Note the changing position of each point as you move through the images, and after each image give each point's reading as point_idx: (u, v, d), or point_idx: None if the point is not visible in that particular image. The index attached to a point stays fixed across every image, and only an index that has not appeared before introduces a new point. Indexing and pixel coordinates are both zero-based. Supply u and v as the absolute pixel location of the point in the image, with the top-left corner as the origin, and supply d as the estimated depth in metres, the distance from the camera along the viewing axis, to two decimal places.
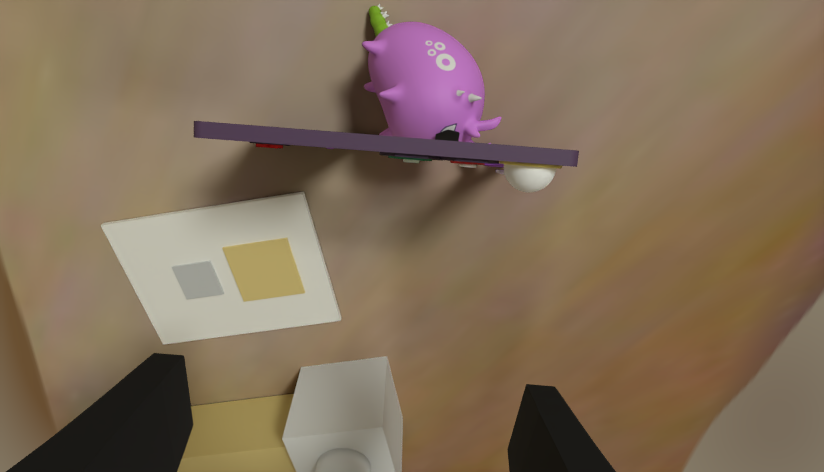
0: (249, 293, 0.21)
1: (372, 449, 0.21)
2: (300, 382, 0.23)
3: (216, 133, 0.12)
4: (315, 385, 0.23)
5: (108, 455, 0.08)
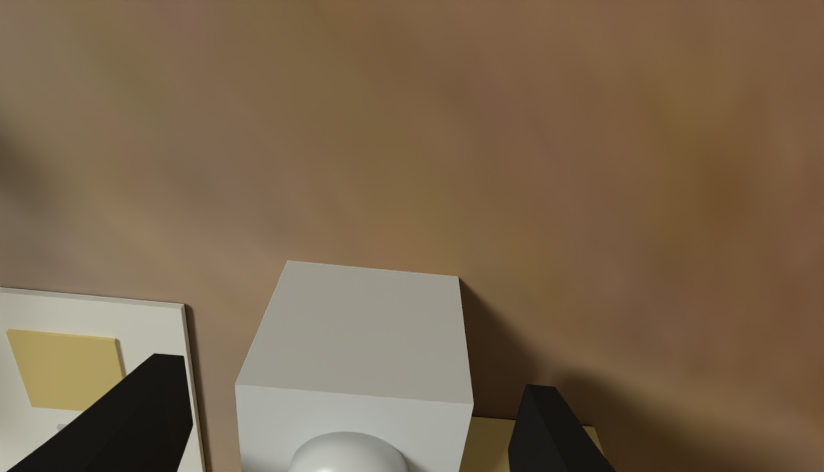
0: None
1: (307, 418, 0.09)
2: None
3: None
4: None
5: (108, 455, 0.08)
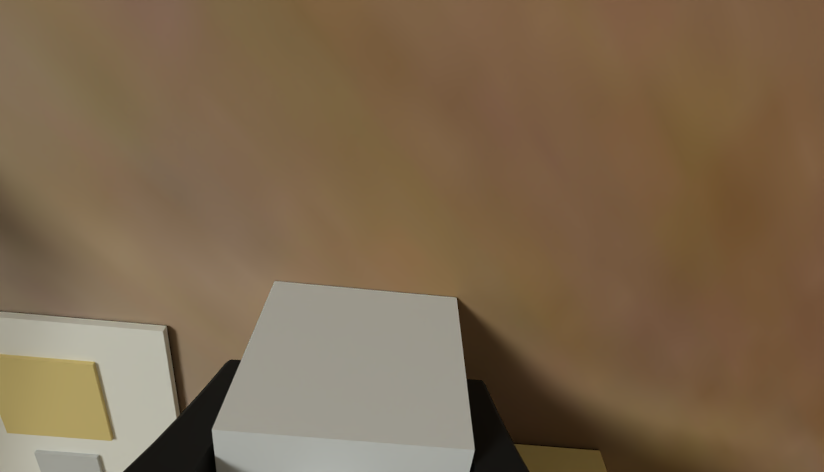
0: (98, 428, 0.13)
1: (293, 465, 0.08)
2: None
3: None
4: None
5: (207, 462, 0.08)
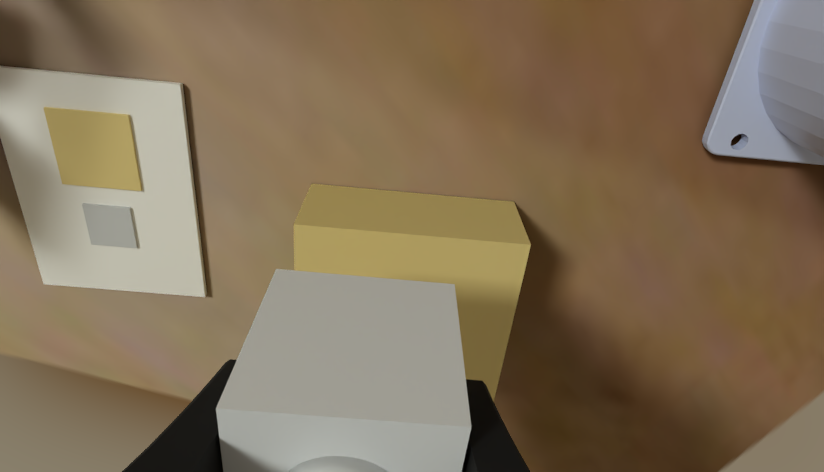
0: (131, 180, 0.18)
1: (295, 443, 0.08)
2: None
3: None
4: None
5: (206, 462, 0.08)
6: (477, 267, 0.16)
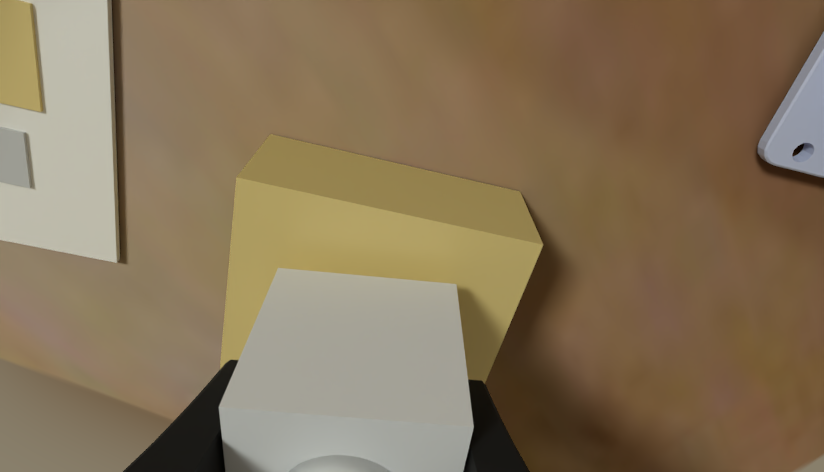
0: (28, 96, 0.13)
1: (297, 441, 0.08)
2: None
3: None
4: None
5: (207, 462, 0.08)
6: (470, 265, 0.12)
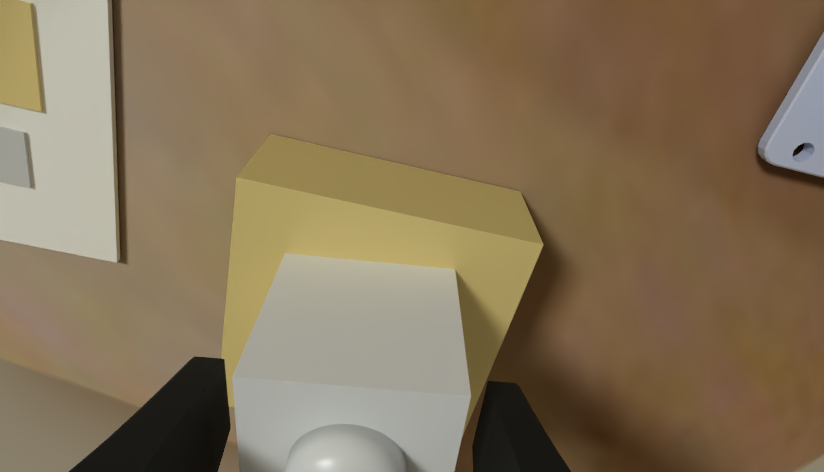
0: (29, 96, 0.13)
1: (305, 411, 0.09)
2: None
3: None
4: None
5: (160, 459, 0.08)
6: (470, 265, 0.12)
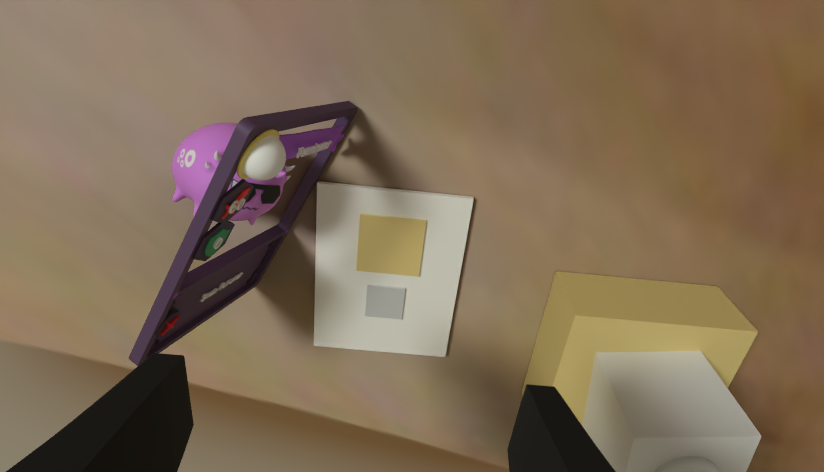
0: (412, 268, 0.22)
1: (668, 451, 0.17)
2: None
3: (137, 354, 0.16)
4: (594, 436, 0.20)
5: (108, 455, 0.08)
6: (710, 348, 0.20)
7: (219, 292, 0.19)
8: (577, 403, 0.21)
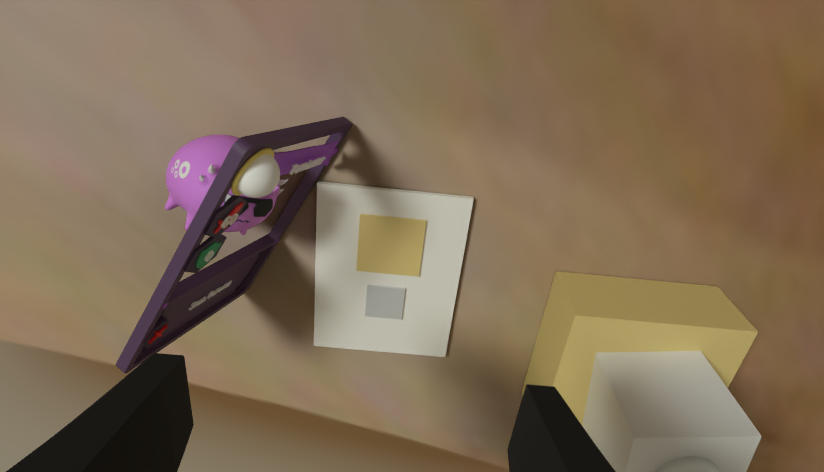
0: (412, 268, 0.22)
1: (668, 451, 0.17)
2: None
3: (125, 361, 0.16)
4: (594, 436, 0.20)
5: (108, 455, 0.08)
6: (710, 348, 0.20)
7: (208, 300, 0.19)
8: (577, 404, 0.21)
